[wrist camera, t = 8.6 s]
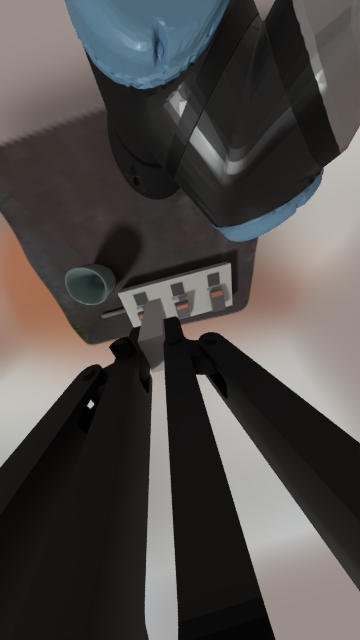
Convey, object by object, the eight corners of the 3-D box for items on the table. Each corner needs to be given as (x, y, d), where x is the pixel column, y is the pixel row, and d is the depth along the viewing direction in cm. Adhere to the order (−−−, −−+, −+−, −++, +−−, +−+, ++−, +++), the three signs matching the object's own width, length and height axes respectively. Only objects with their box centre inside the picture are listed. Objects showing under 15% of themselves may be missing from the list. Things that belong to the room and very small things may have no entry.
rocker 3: (208, 292, 37) (210, 292, 36) (221, 288, 37) (223, 288, 36) (212, 311, 39) (213, 312, 38) (224, 308, 39) (226, 308, 38)
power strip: (91, 297, 38) (84, 302, 34) (224, 261, 38) (231, 263, 35) (111, 331, 43) (107, 339, 40) (226, 300, 44) (232, 305, 40)
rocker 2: (174, 303, 36) (175, 306, 35) (187, 299, 36) (188, 302, 35) (177, 316, 40) (178, 319, 39) (189, 313, 40) (190, 316, 39)
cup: (117, 263, 35) (104, 268, 26) (121, 292, 38) (110, 306, 30) (84, 260, 33) (58, 265, 25) (90, 291, 37) (70, 304, 28)
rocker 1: (137, 312, 36) (137, 315, 35) (150, 308, 36) (150, 311, 35) (145, 326, 39) (145, 329, 38) (157, 323, 40) (157, 326, 39)
